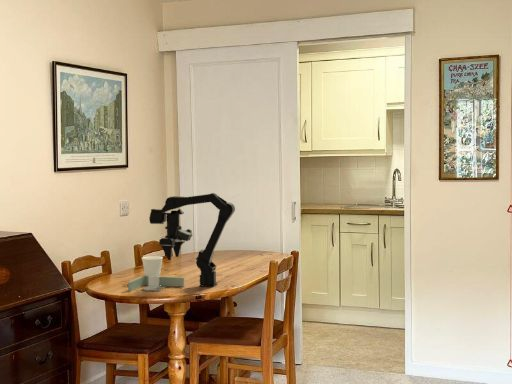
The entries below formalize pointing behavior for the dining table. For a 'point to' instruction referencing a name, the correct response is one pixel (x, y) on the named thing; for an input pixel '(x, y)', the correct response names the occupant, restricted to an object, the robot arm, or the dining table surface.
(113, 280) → the dining table surface
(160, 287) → the pad
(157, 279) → the bracket
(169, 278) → the corner frame
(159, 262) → the cup
